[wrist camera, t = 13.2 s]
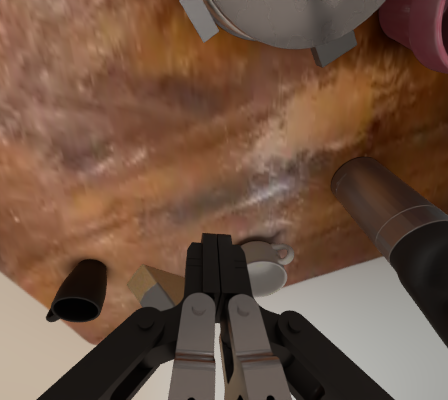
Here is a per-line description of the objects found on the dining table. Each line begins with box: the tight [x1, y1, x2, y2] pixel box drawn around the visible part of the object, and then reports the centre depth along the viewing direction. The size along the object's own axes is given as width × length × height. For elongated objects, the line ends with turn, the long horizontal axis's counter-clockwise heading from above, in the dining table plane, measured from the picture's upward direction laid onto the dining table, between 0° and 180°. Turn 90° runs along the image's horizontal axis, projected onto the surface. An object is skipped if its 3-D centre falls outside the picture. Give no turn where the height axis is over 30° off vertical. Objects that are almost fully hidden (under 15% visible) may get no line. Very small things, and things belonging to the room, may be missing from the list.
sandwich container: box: [127, 264, 185, 311], centre depth 53 cm, size 9×15×15 cm, turn 54°
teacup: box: [241, 241, 294, 297], centre depth 52 cm, size 14×11×8 cm
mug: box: [46, 260, 107, 322], centre depth 50 cm, size 8×12×10 cm
